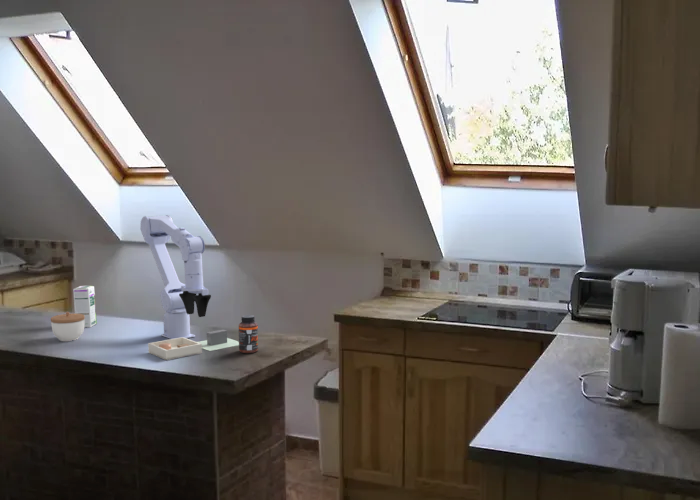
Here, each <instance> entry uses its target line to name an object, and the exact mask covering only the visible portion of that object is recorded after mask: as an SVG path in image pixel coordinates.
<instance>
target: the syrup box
mask: <svg viewBox="0 0 700 500" xmlns="http://www.w3.org/2000/svg"><path fill="white" fill-rule="evenodd" d="M72 292H73V293H72V294H73V304H74V305H73V307H74V314H83V315H84V316H85V325H84V329H85V327H87V328H92V327H94V326H95V325H97V324H98V322H97V320H98V319H97V309H96V307H97V306H96V293H95V286H94V285H79V286H78V287H77V286H76V287H75V288H73V290H72Z"/></svg>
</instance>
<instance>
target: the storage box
mask: <svg viewBox="0 0 700 500" xmlns="http://www.w3.org/2000/svg"><path fill="white" fill-rule="evenodd" d="M198 342H199V341H195V340H192V339H190V338H184V337H180V338H175V339H169V338H168V339H164V340H160V341H153V342H147V344H148V345H147V346H148V348H147V349H148V354H150V355H153V356H155V357H156V358H160V359H162V360H165V361H170V360H176V359H179V358H185V357H189V356H195V355H200V354H203V349H202V344H201V343H198Z"/></svg>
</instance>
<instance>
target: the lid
mask: <svg viewBox="0 0 700 500" xmlns="http://www.w3.org/2000/svg"><path fill="white" fill-rule="evenodd" d="M197 342H198V343H201V344H202V350H206V351H208V352H213V351H219V350H223V349H228V348H233V347H239V340H235V339H232V338H229V337H228V330H226V329H217V330H213V331H207V332H206V339H205V340H201V341H197Z"/></svg>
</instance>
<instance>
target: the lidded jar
mask: <svg viewBox="0 0 700 500" xmlns="http://www.w3.org/2000/svg"><path fill="white" fill-rule="evenodd" d="M50 322H51V326H50V327H51V330H52V333H53V335H54V336H55V338H57V339H58V340H59V341H60V342H72V340H74V341H77V340H79V339H80V337H81V336H82V335H83V333H84V331H85V328H84V325H85V316H84V315H83V314H75V313H70V312H69V311H66V312H65V313H63V314H57V315H53V316H51V318H50ZM78 338H79V339H78ZM76 339H77V340H76Z"/></svg>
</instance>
